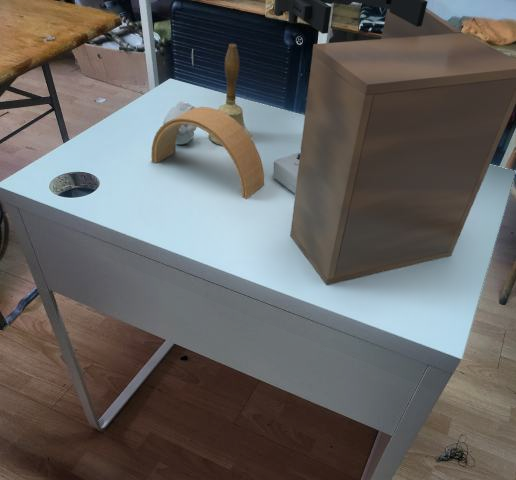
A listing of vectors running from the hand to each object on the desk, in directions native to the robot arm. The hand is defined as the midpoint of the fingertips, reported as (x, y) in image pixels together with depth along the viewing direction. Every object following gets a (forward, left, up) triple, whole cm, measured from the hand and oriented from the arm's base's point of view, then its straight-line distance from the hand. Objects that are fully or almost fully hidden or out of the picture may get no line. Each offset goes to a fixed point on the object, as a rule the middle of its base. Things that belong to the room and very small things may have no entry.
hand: (376, 17), depth 61 cm
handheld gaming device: (+2, -9, -27) cm, 29 cm away
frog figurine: (+27, -21, -27) cm, 44 cm away
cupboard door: (-12, -11, -27) cm, 31 cm away
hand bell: (+18, -24, -27) cm, 41 cm away
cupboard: (-3, +10, -27) cm, 29 cm away
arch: (+22, -10, -27) cm, 36 cm away
